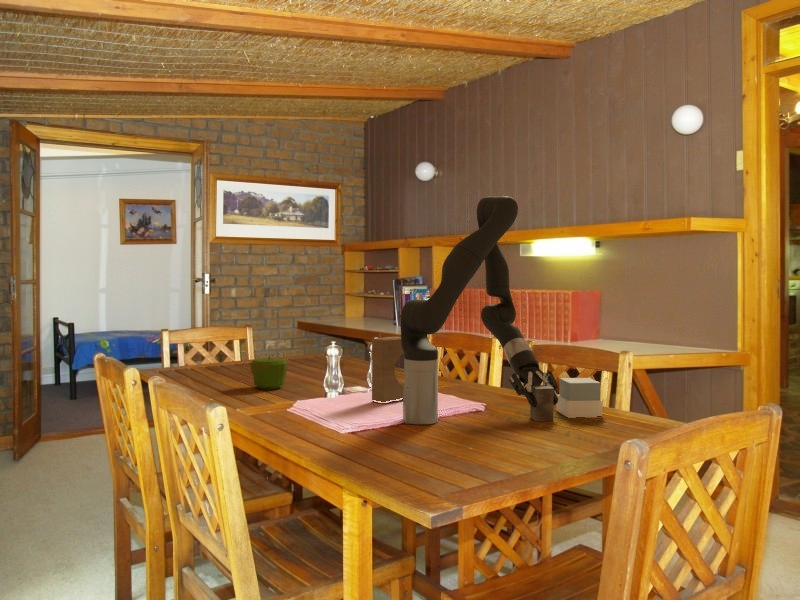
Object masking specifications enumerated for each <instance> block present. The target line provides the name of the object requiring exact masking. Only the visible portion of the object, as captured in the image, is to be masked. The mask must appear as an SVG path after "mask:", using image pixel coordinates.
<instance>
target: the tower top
mask: <svg viewBox="0 0 800 600" xmlns="http://www.w3.org/2000/svg"><path fill="white" fill-rule="evenodd" d="M601 384H602V383H601V382H600V381H597V380H595V379H593V378H590V377H560V378H559V387H558V388H559V391H558V392H559V393H558V395H560V396H562V397H564V398H565V399H567V400H569V401H590V400H601V393H602V391H601Z"/></svg>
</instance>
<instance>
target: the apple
mask: <svg viewBox="0 0 800 600" xmlns="http://www.w3.org/2000/svg"><path fill="white" fill-rule="evenodd" d="M250 371H251V374H252V379H253V383H254V386H256V387H257V388H258V389H261V390H268V391H269V390H277V389H279V388H280V387H282V386H284V385H285V383H286V374H287V371H288V361H287V360H285V359H284V358H278V357H270V356H268V357H262V358H256V359H253V360H252V361H251V363H250Z"/></svg>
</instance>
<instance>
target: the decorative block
mask: <svg viewBox="0 0 800 600" xmlns="http://www.w3.org/2000/svg"><path fill="white" fill-rule="evenodd" d="M402 355H404V351H403V349H402V345H401V336H396V335H395V336H386V337H378V338H377V337H374V338H372V339H371V401H372V400H376V401H381V402H386V401H390V400H396V399H400V398H403V385H404V383H401V382H400V381H399V380H398V378H397V376H396V365H397V362H398V361H399V358H400V357H401V356H402Z"/></svg>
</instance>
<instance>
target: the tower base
mask: <svg viewBox="0 0 800 600" xmlns="http://www.w3.org/2000/svg"><path fill="white" fill-rule="evenodd" d="M556 396H557V398H558V402H557V404H556V405H555V406H556V407H555V408H556V409H555V410H556V411H557V412H558V413H559V414H561V415H562V416H564V417H566V418H567V417H568V418H567V419H570V418H571V419H572V418H573V419H576V417H585V418H598V417H597V416H602V417H603V400H602V399H600V400H590V401H569V400H567V399H565V398H564V397H562V396H560V395H559V394H556Z"/></svg>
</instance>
